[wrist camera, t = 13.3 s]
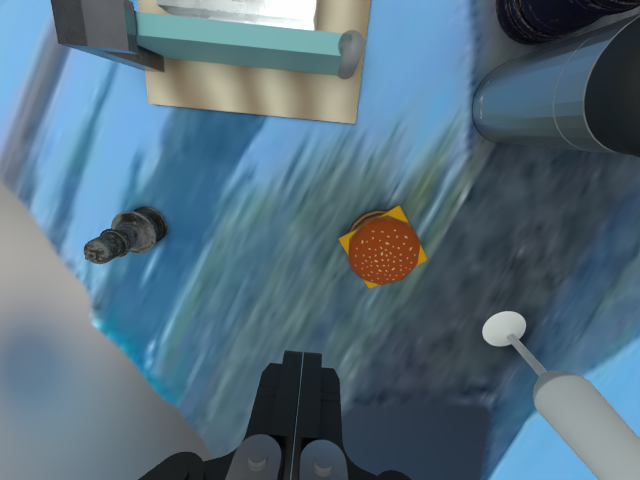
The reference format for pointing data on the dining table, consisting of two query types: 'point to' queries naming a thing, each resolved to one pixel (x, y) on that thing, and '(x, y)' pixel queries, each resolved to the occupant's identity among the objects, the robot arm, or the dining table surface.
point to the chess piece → (127, 235)
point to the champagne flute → (574, 409)
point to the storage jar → (553, 17)
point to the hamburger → (382, 247)
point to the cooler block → (205, 3)
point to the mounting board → (265, 78)
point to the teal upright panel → (250, 44)
